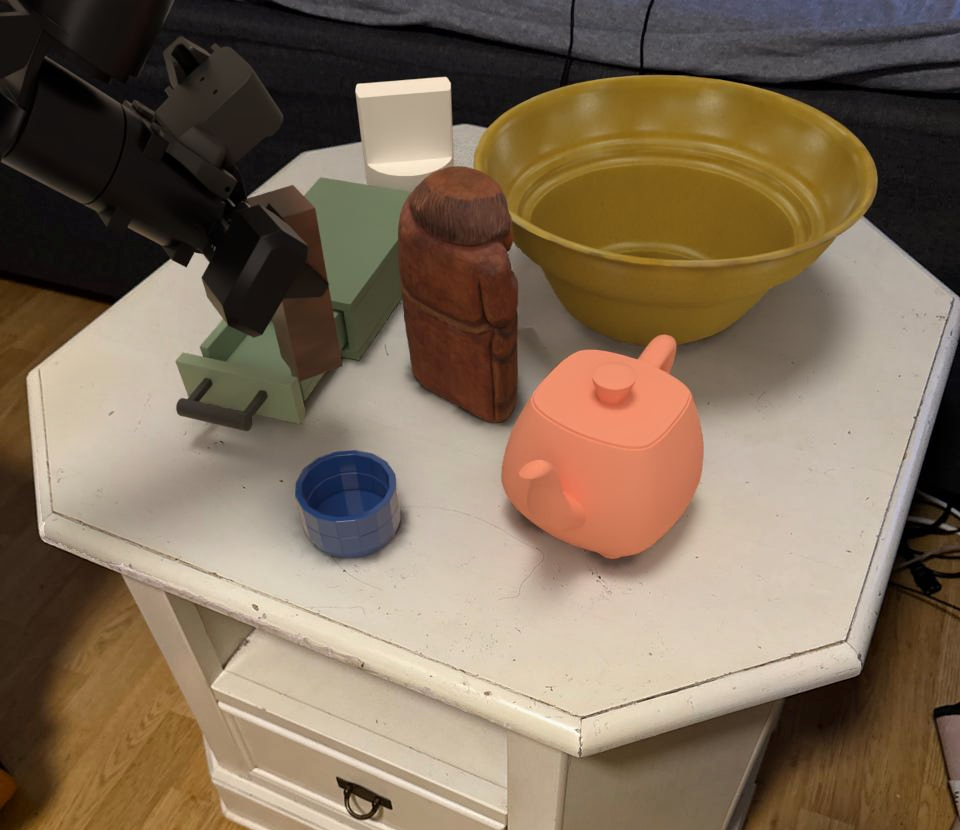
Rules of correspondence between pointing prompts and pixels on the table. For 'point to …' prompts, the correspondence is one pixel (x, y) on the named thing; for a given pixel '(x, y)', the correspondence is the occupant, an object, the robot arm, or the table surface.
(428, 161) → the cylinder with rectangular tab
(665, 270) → the planter bowl
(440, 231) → the wooden figurine
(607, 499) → the teapot
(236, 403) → the drawer
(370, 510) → the blue bowl
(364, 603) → the table surface
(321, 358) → the walnut block
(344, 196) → the cabinet
